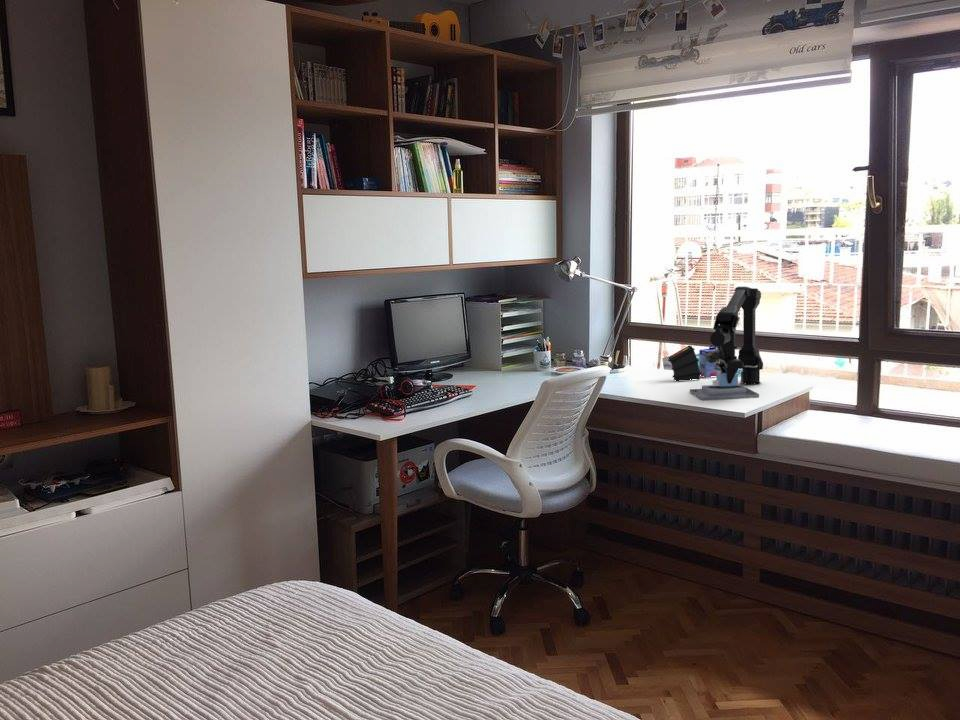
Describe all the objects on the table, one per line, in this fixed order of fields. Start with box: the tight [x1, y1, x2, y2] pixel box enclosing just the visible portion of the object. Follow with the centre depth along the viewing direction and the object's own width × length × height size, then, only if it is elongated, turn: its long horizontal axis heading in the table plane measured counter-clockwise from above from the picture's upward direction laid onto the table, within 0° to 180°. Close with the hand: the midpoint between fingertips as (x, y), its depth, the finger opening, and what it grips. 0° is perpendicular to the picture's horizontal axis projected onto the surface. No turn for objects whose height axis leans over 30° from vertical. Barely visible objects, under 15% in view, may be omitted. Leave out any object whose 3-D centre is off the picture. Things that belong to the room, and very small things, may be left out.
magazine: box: [667, 345, 701, 382], centre depth 351 cm, size 4×13×15 cm, turn 97°
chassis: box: [689, 383, 760, 401], centre depth 318 cm, size 22×16×3 cm
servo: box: [712, 373, 739, 387], centre depth 317 cm, size 9×4×5 cm, turn 93°
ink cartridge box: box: [698, 344, 722, 377], centre depth 357 cm, size 10×6×14 cm, turn 111°
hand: (727, 382), depth 318 cm, fingers closed on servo, 4 cm apart
